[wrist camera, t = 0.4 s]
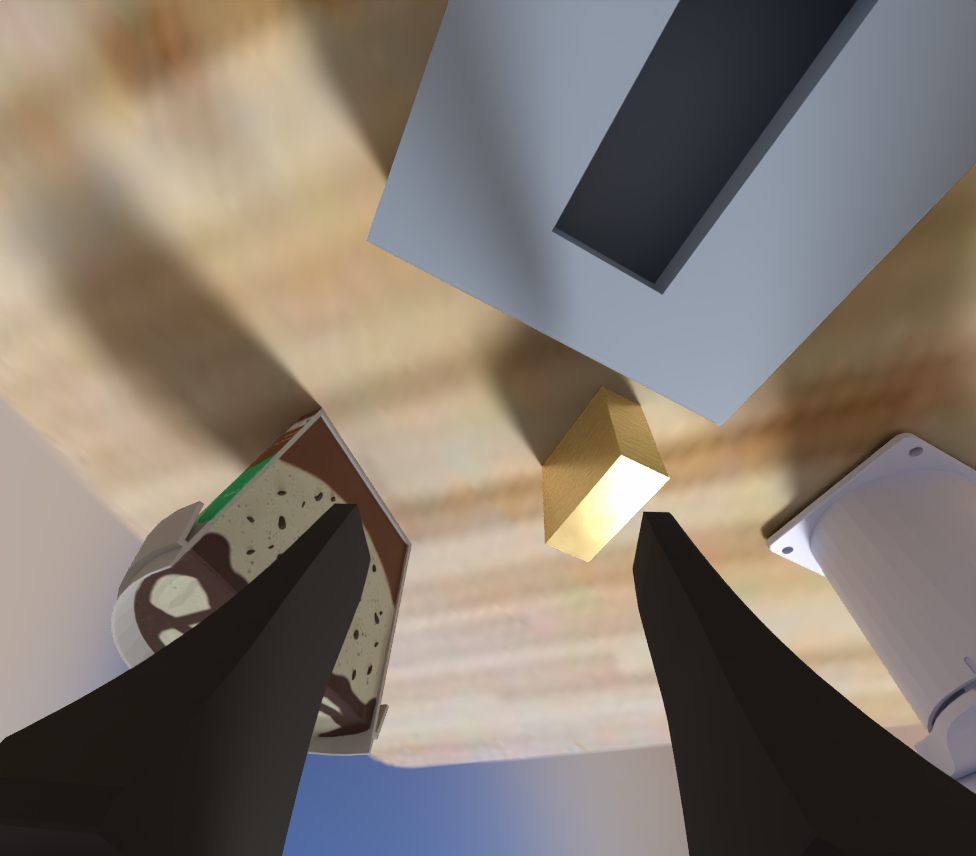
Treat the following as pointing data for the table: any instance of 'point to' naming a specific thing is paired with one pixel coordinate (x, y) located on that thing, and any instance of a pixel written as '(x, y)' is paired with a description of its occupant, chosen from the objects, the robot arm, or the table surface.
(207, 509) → the food container
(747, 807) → the robot arm
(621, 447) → the block
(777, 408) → the table surface
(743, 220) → the coin box
